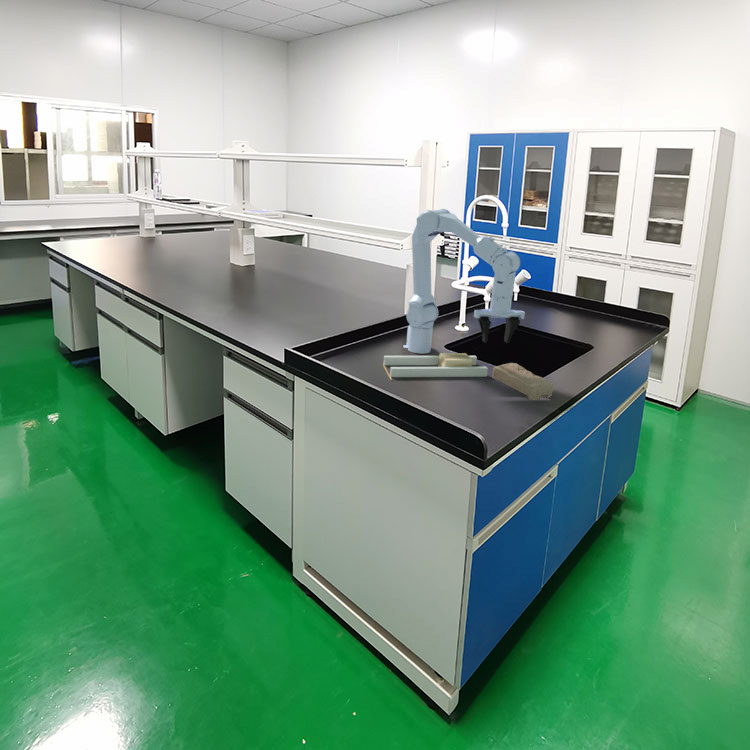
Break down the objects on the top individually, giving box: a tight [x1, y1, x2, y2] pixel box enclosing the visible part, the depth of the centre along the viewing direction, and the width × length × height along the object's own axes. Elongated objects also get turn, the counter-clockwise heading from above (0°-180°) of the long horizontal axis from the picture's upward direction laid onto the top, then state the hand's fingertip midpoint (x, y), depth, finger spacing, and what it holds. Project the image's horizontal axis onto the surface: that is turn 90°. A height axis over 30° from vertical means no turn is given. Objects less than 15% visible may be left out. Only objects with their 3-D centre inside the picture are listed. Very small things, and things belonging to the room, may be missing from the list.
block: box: [437, 352, 473, 367], centre depth 174 cm, size 6×8×4 cm
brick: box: [491, 362, 554, 401], centre depth 166 cm, size 17×8×5 cm, turn 30°
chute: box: [382, 355, 489, 382], centre depth 173 cm, size 12×28×3 cm, turn 101°
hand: (495, 342), depth 173 cm, fingers open, 6 cm apart
